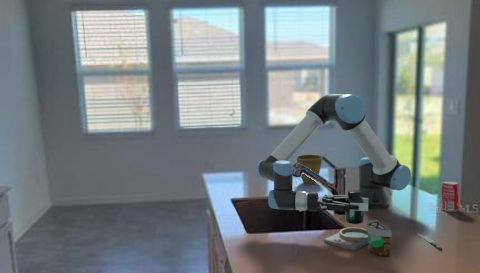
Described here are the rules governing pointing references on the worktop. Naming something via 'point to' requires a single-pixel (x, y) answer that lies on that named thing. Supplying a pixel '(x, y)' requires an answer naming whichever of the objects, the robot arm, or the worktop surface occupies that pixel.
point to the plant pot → (310, 166)
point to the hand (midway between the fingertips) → (368, 204)
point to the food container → (378, 239)
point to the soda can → (450, 196)
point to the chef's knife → (430, 241)
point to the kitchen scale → (349, 238)
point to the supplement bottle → (354, 215)
